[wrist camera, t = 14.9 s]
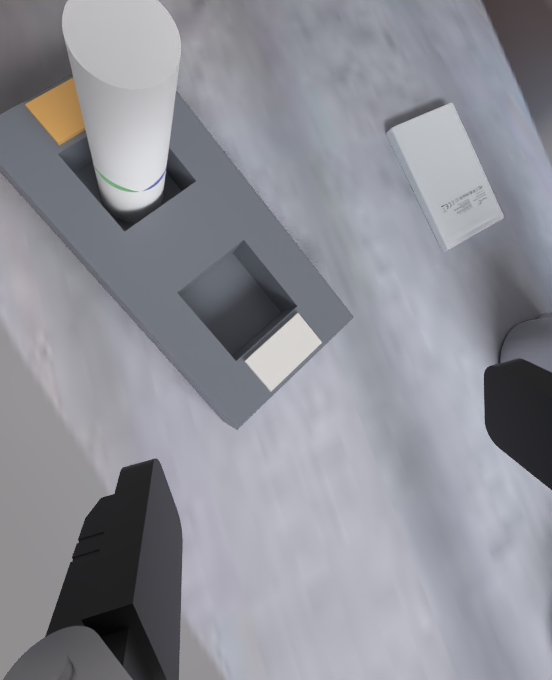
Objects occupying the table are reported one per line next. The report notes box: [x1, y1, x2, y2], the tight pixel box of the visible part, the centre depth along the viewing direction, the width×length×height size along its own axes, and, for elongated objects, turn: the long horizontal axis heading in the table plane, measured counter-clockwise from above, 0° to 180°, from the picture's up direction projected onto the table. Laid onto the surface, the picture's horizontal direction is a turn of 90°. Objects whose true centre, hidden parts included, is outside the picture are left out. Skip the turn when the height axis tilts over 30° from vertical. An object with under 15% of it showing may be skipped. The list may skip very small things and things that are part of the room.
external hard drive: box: [386, 102, 504, 252], centre depth 40 cm, size 2×8×12 cm
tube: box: [62, 0, 181, 222], centre depth 23 cm, size 4×4×15 cm
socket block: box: [0, 74, 353, 429], centre depth 30 cm, size 24×12×5 cm, turn 41°
